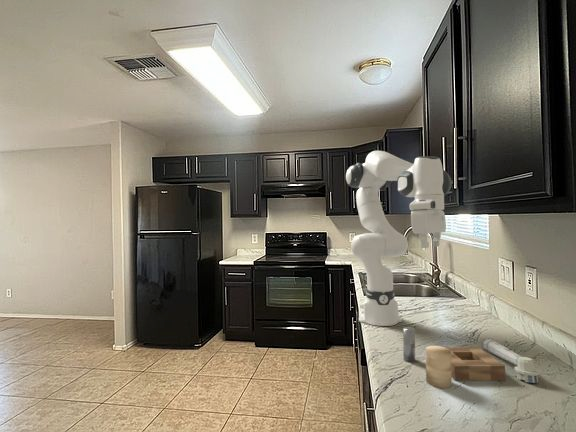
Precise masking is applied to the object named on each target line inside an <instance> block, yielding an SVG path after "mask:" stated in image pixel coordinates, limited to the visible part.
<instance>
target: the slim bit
mask: <svg viewBox="0 0 576 432" xmlns="http://www.w3.org/2000/svg"><path fill="white" fill-rule="evenodd" d="M402 337H403V338H402V341H403V346H402V347H403V351H402V353H403V361H404V362H408V363H414V362H416V329H415V327H410V326H405V327H402Z"/></svg>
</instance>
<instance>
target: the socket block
mask: <svg viewBox="0 0 576 432" xmlns="http://www.w3.org/2000/svg"><path fill="white" fill-rule="evenodd" d="M444 347H445V348H447V349H449V350H450V351H451V379H453V380H454V381H506V365H504V364H503V363H501V362H500V361H498V360H497V359H496V358H494V357H493V356H492V355H490V353H487V352H486V351H484V350H483V349H482V348H480V347H479V346H444Z"/></svg>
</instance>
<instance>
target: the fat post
mask: <svg viewBox="0 0 576 432" xmlns="http://www.w3.org/2000/svg"><path fill="white" fill-rule="evenodd" d="M445 347H446V346H442V345H441V346H440V345H429V346H426V347H425V381H426V384H428V385H429V386H431V387H435V388H438V389H449V388H451V387H452V379H453V378H452V377H451V351H450V350H449V349H447V348H445Z"/></svg>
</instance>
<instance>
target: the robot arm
mask: <svg viewBox="0 0 576 432" xmlns="http://www.w3.org/2000/svg"><path fill="white" fill-rule="evenodd" d="M345 180H346V184H347V185H348V186H349V187H351V188H353V189H357V188H358V189H357V190H356V192H355V193H356V194H355V199H356V200H355V202H356V208H357V211H358V217H359V220H360V221H359V222H360V224H361V226H362V227H363V228H364V229H366V230H368V231H369V233H367V232H366V233H361V234H357V235H354V237H353V238H352V240H351V243H350V249H351V252H352V253H353V256H355V257H356V258H358V260H360V261H361V263H362V265H363V266H364V269H365V272H366V285H367V286H366V287H367V288H366V291H365V299H364V301H363V303H360V304H359V309H360V310H358V321H359V322H360V323H365V324H368V325H373V326H378V327H379V326H380V327H389V326H390V327H391V326H394V325H397V324H398V323H401V322H403V318H401V317H400V316H399V303H398V302H397V301H396V300H395V289H394V273H393V271H392V270H391V269H390V267H389V268H388V267H387V266H385V265H383V262H382V259H384V258H386V259H387V258H396V257H401V256H403V255H405V254H406V253H407V251H408V249H409V243H408V238H406V236H405V235H404V234H402V233H400V232H398V231H397V230H396V229H395V228H394V227H393V226H392V225H391V224H390V223H389V221H388V219H387V218H386V214H385V212H384V210H383V205H382V203H381V199H380V195H379V192H384V191H385V190H386V188H388V187H389V186H390V185H391V184H392V182H394V181H395V182H396V186H397V191H398V192H399V194H400V195H402V196H403V197H404V198H405V197H407V198H414V200H413V201H412V202H410V203H409V205H408V206H409V207H408V208H409V210H410V211H411V212H410V220H411V221H410V223H411V230H412V233H413V234H415V235H417V234H418V237H419V240H420V244H421V246H420V247H421V248H422V249H428V248H430V243H429V240H428V236H429V234H432V236H433V240H432V241H431V242H432V247H433V248H435V247H440V242H441V236H442V235H441V233H446V230H447V225H446V214H445V212H444V210H445V196H447V194H448V193H449V192H450V190H451V188H452V184H453V183H452V178H451V176H450V174H449V173H448V172H447V171H446V170H445V169H443V164H442V161H441V158H440V157H438V156H434V155H433V156H432V155H431V156H430V155H429V156H427V155H426V156H424V155H422V156H417V157H415V158H414V162H413V163H411V162H409V161H407V160H405V159H402V158H400V157H398V156H396V155H394V154H391V153H389V152H387V151H384V150H373V151H371V152H369V153H368V154H367V155H366V158H365V162H364V163H360V162H357V163H356V164H352V165H351V166H349V167H348V168H347V170H346V173H345Z"/></svg>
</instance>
